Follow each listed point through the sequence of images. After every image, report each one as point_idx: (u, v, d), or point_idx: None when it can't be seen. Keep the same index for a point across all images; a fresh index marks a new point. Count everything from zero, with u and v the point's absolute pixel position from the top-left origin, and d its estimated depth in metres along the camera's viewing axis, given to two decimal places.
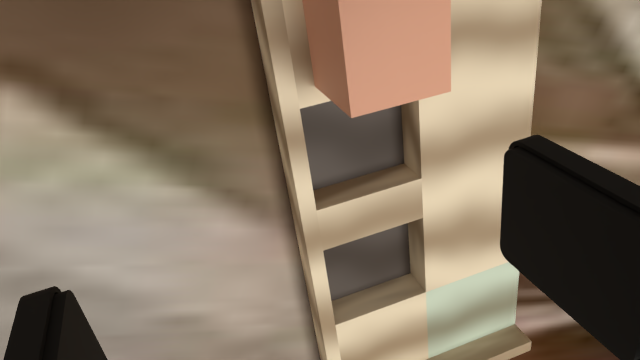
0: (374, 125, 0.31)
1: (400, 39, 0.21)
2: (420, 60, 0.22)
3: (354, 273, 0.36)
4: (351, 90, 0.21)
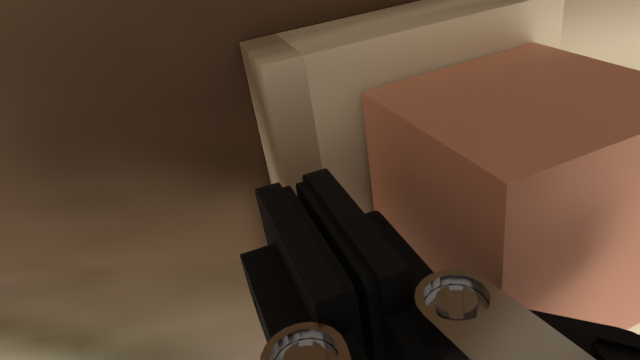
0: None
1: (616, 237, 0.09)
2: None
3: None
4: None
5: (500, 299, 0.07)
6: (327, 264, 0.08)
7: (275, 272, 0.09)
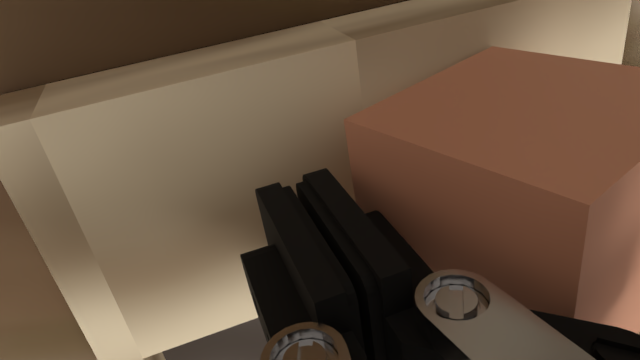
0: None
1: None
2: None
3: None
4: None
5: (500, 299, 0.07)
6: (327, 264, 0.08)
7: (275, 273, 0.09)
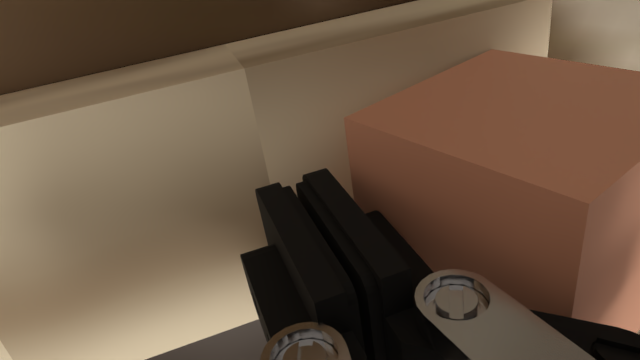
0: (241, 348, 0.17)
1: None
2: None
3: None
4: None
5: (500, 299, 0.07)
6: (327, 264, 0.08)
7: (275, 272, 0.09)
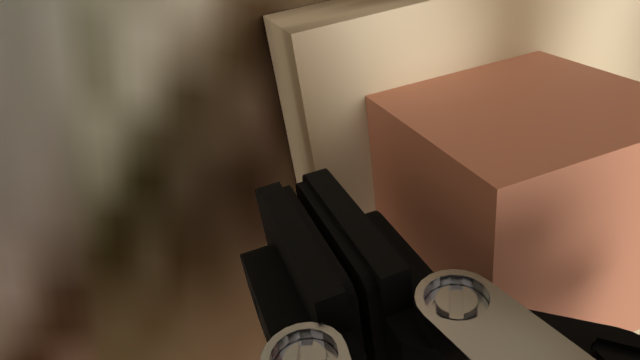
0: None
1: (585, 267, 0.10)
2: None
3: None
4: (631, 328, 0.11)
5: (500, 299, 0.07)
6: (327, 264, 0.08)
7: (275, 272, 0.09)
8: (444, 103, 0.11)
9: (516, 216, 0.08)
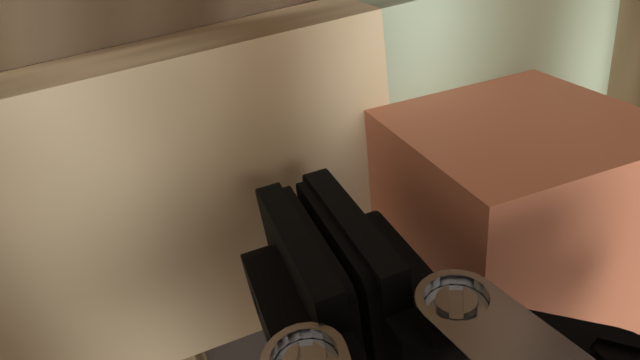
0: None
1: (573, 282, 0.10)
2: (627, 228, 0.10)
3: None
4: None
5: (500, 299, 0.07)
6: (327, 264, 0.08)
7: (275, 273, 0.09)
8: (440, 120, 0.11)
9: (507, 232, 0.09)
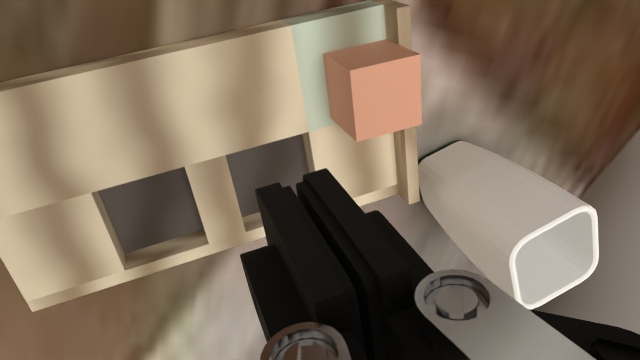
0: (145, 187, 0.38)
1: (382, 99, 0.33)
2: (396, 82, 0.33)
3: (287, 175, 0.42)
4: (406, 127, 0.35)
5: (500, 299, 0.07)
6: (327, 264, 0.08)
7: (275, 272, 0.09)
8: (346, 54, 0.35)
9: (356, 79, 0.32)
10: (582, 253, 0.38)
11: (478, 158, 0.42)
